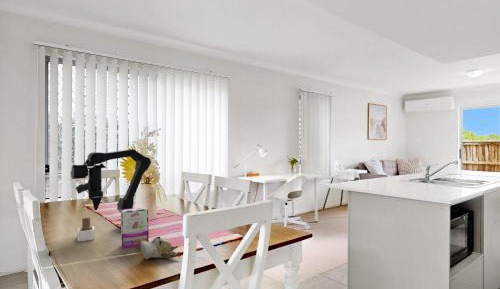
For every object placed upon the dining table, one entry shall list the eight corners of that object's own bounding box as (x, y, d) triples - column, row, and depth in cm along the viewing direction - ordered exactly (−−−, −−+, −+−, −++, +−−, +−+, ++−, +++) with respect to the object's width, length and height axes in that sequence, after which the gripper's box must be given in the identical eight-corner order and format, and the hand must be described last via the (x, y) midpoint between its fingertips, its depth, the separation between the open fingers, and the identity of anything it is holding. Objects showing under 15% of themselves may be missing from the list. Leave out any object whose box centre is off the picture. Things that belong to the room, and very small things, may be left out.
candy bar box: (147, 242, 141) (147, 206, 141) (148, 245, 137) (148, 208, 137) (120, 246, 136) (120, 209, 136) (121, 249, 132) (121, 211, 131)
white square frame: (94, 235, 150) (94, 226, 150) (94, 239, 144) (94, 229, 144) (78, 237, 147) (78, 228, 147) (77, 241, 141) (77, 231, 141)
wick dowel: (90, 236, 148) (90, 217, 147) (90, 238, 145) (90, 218, 144) (82, 237, 146) (82, 218, 146) (82, 239, 143) (82, 219, 143)
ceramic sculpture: (141, 233, 126) (178, 232, 131) (140, 254, 126) (177, 252, 131) (139, 241, 116) (180, 240, 120) (138, 264, 116) (178, 262, 120)
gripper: (77, 176, 159) (77, 206, 159) (76, 180, 143) (76, 214, 143) (101, 175, 164) (101, 204, 164) (103, 179, 148) (103, 211, 148)
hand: (95, 208), depth 155 cm, fingers open, 9 cm apart
